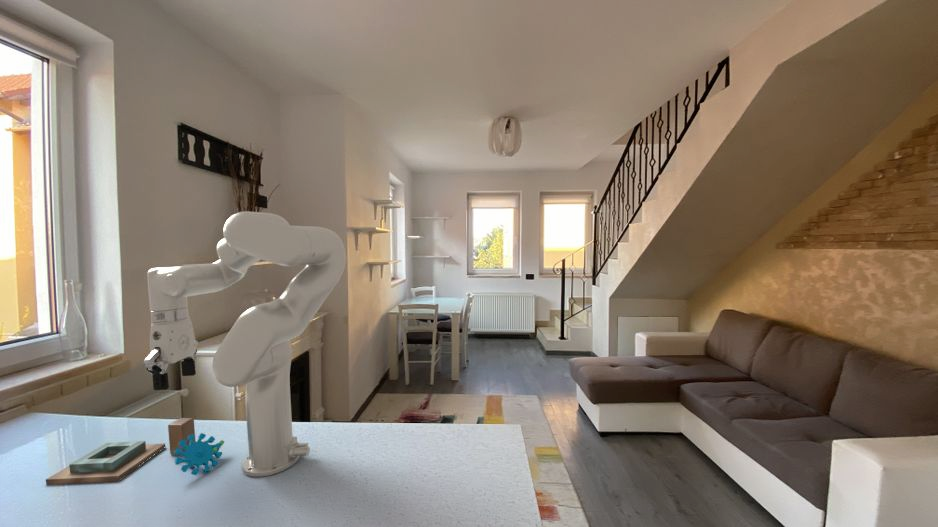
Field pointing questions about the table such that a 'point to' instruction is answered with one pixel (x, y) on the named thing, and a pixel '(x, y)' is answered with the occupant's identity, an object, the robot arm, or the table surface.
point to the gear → (198, 453)
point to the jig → (106, 463)
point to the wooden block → (180, 432)
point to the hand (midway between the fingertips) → (175, 382)
